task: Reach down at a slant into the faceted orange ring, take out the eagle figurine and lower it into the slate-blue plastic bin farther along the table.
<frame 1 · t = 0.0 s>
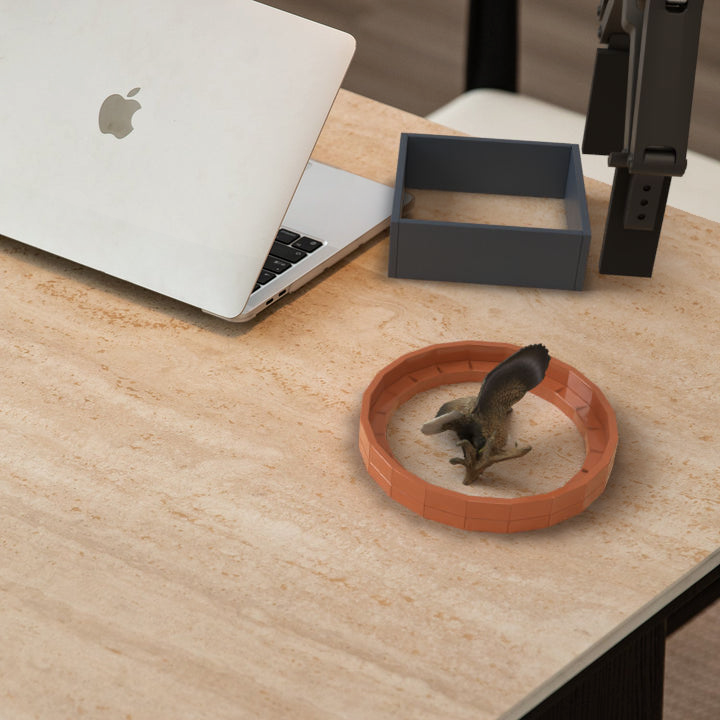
hand: (613, 208, 70), 15 cm above the table, tool pointing down, fingers open, 13 cm apart
eagle figurine: (484, 450, 77), resting on faceted orange ring
bin: (483, 243, 97), on the table
faceted orange ring: (484, 452, 77), on the table
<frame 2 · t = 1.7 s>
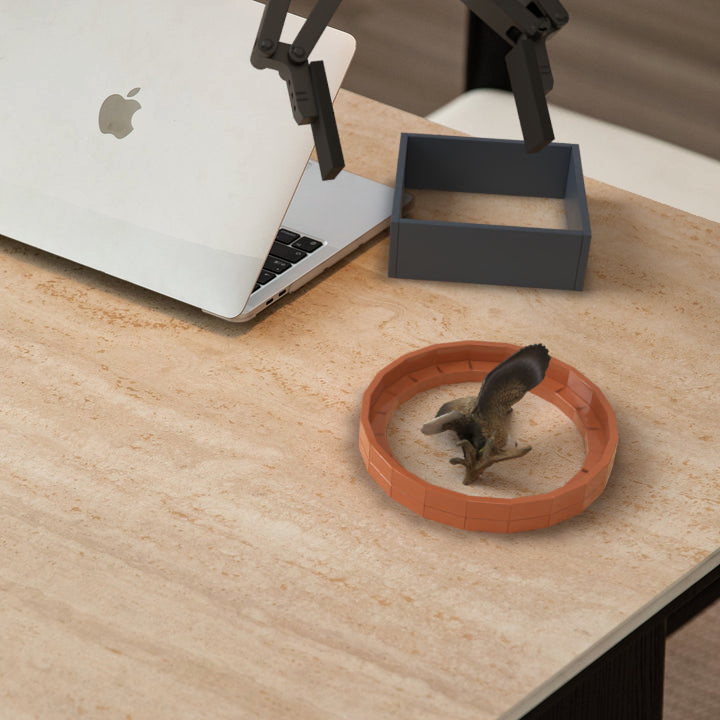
hand: (440, 160, 75), 15 cm above the table, tool tilted 45°, fingers open, 13 cm apart
nothing on the table moved.
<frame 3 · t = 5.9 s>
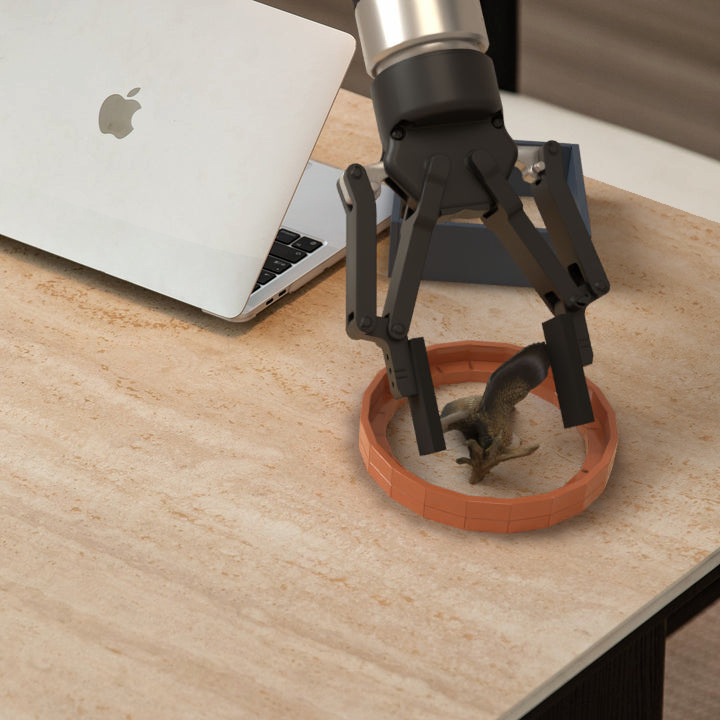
hand: (507, 438, 72), 4 cm above the table, tool tilted 45°, fingers closed on eagle figurine, 8 cm apart
eagle figurine: (488, 449, 77), resting on faceted orange ring, touching gripper
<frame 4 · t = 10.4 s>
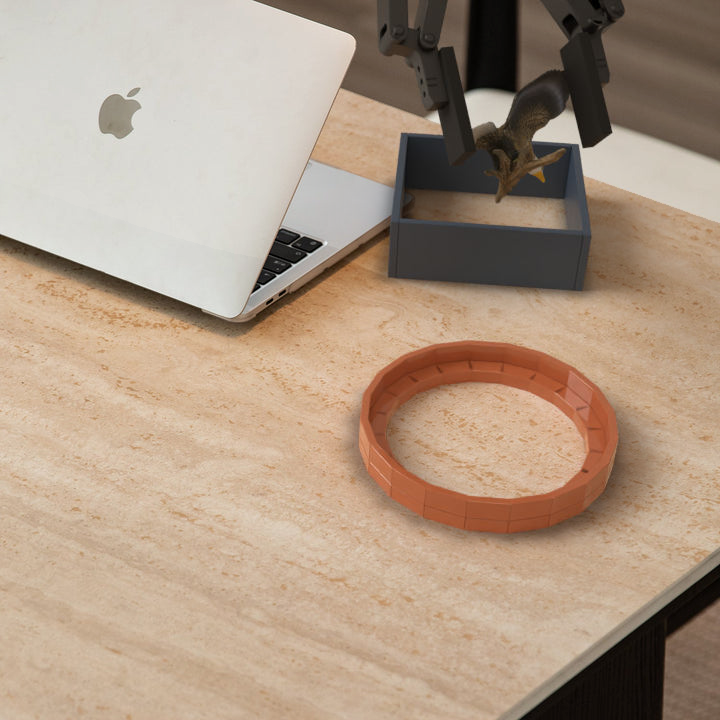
hand: (531, 149, 75), 16 cm above the table, tool tilted 45°, fingers closed on eagle figurine, 8 cm apart
eagle figurine: (510, 177, 80), point 12 cm above the table, touching gripper
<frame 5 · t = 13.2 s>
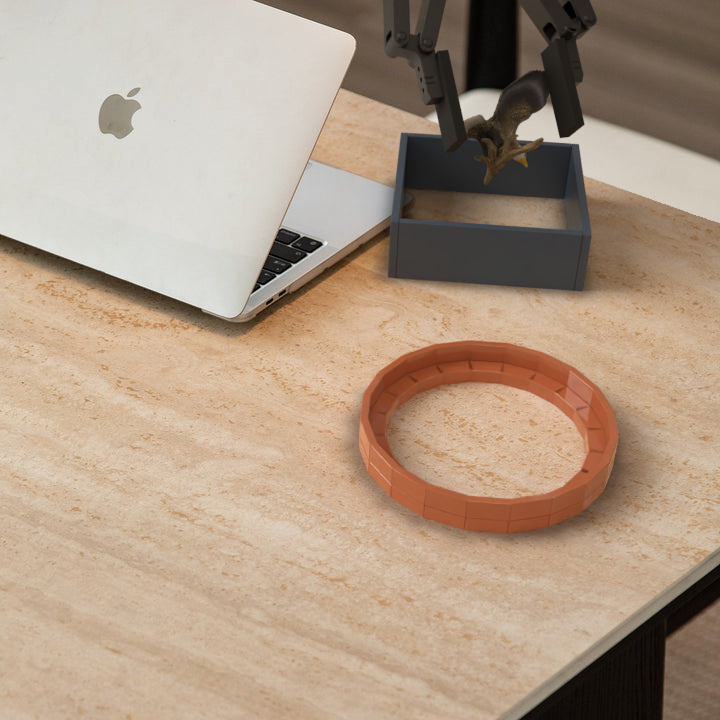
hand: (514, 138, 88), 11 cm above the table, tool tilted 45°, fingers closed on eagle figurine, 8 cm apart
eagle figurine: (498, 163, 93), point 7 cm above the table, touching gripper
when the fingers open (5 cm above the table, at t = 15.3 s): eagle figurine drops 1 cm, resting on bin.
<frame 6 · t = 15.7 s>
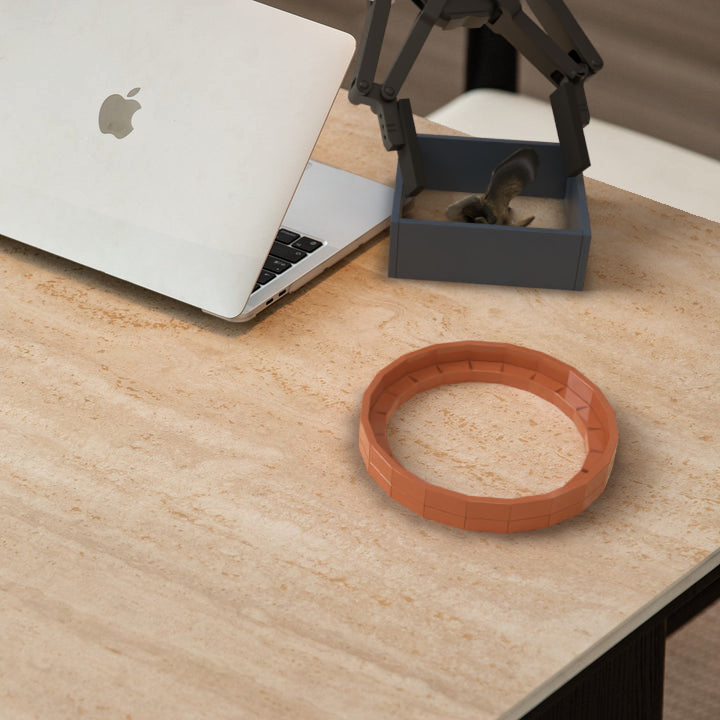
hand: (499, 182, 91), 7 cm above the table, tool tilted 45°, fingers open, 12 cm apart
eagle figurine: (492, 236, 97), resting on bin
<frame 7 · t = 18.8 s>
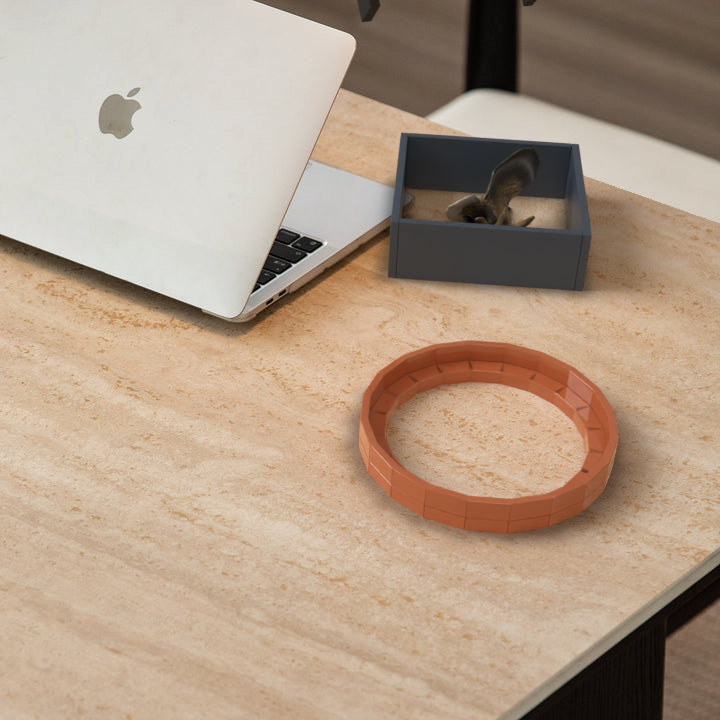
hand: (454, 6, 96), 15 cm above the table, tool tilted 45°, fingers open, 13 cm apart
nothing on the table moved.
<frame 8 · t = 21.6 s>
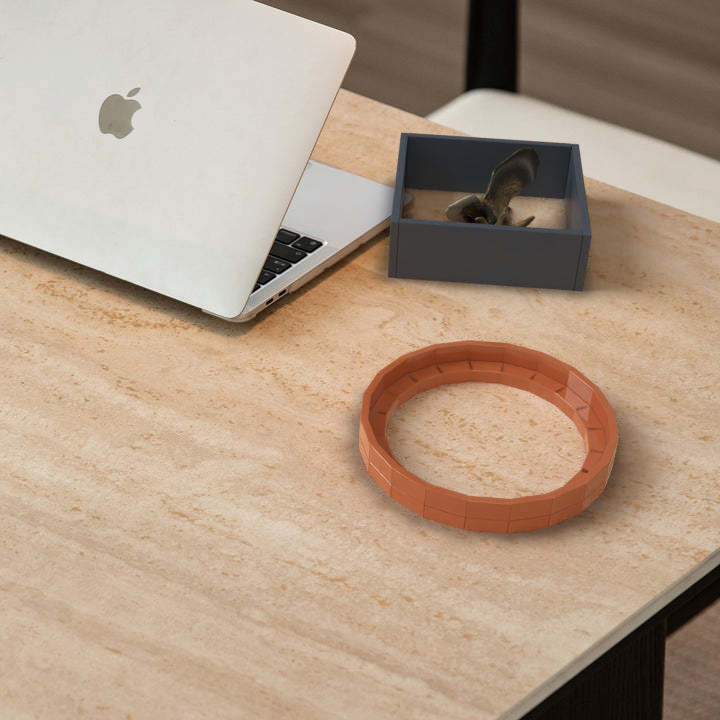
nothing on the table moved.
at the end: eagle figurine inside the target area in the bin (0.8 cm from its centre), point 0.3 cm above the bin's base; eagle figurine moved 25.6 cm from its start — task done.
